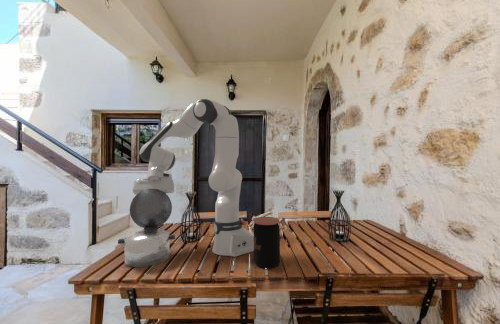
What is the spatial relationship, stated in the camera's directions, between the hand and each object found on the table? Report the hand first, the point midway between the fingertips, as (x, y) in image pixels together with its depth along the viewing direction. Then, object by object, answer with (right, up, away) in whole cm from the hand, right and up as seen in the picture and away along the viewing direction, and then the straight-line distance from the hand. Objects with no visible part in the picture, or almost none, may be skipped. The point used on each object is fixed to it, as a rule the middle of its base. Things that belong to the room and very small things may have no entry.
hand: (152, 199), depth 124 cm
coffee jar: (+56, -23, -23) cm, 64 cm away
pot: (+4, -23, -16) cm, 29 cm away
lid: (+1, -4, -6) cm, 7 cm away
